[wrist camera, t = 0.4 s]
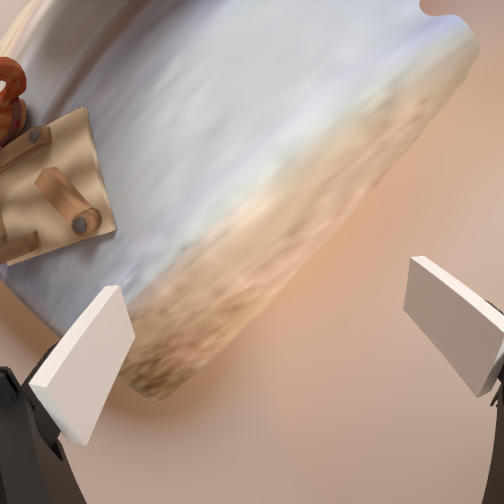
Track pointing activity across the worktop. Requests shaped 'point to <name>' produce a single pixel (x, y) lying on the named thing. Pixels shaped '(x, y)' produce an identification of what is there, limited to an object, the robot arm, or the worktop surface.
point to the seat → (31, 198)
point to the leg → (68, 201)
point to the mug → (11, 100)
